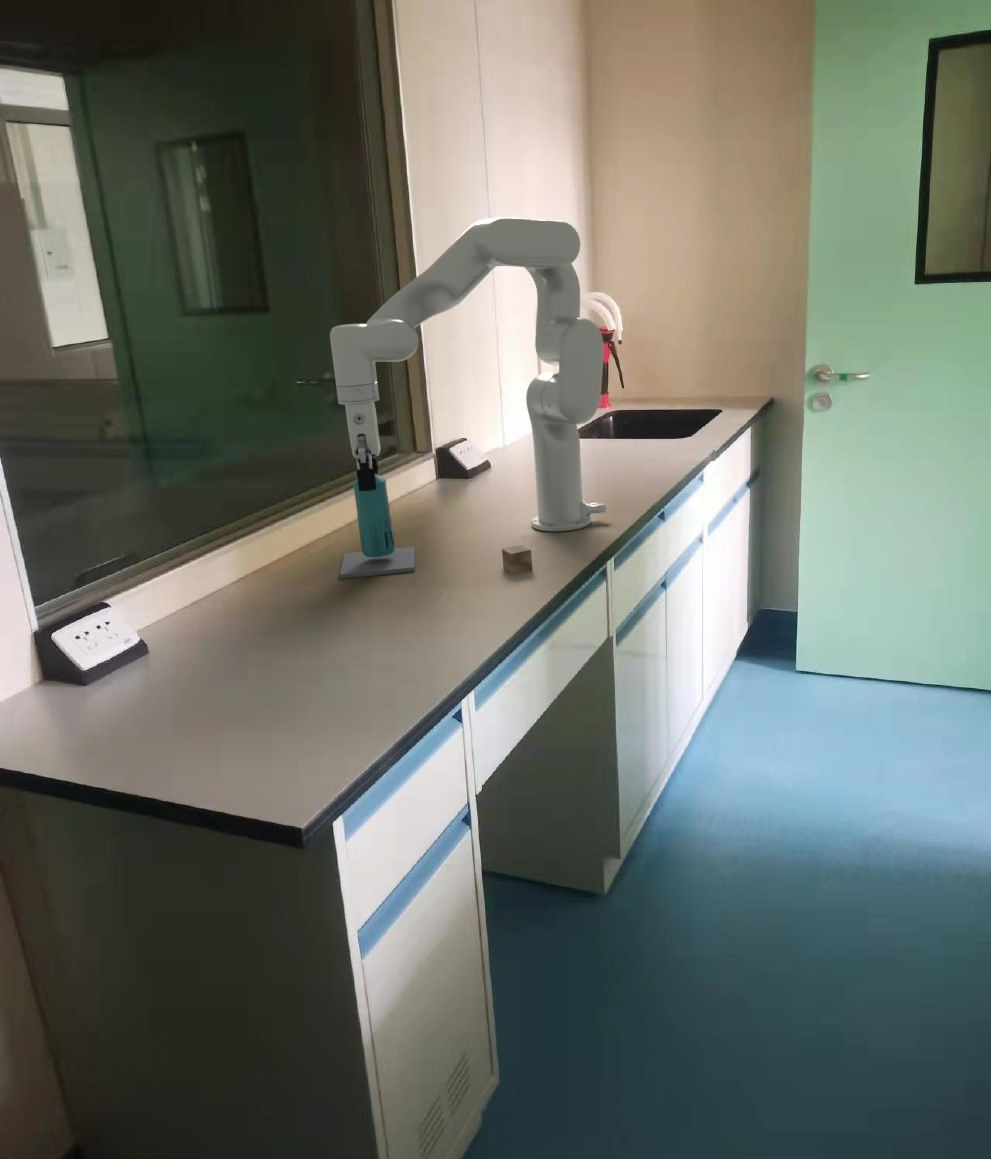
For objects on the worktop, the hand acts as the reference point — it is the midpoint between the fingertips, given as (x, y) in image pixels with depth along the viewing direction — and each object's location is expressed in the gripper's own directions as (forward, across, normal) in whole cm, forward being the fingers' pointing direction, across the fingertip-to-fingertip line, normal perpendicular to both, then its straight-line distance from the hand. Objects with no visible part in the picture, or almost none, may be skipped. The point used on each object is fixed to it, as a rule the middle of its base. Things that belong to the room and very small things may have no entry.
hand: (369, 484), depth 187 cm
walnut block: (+16, -12, -26) cm, 33 cm away
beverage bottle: (+15, 0, 0) cm, 15 cm away
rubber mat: (+16, 0, 0) cm, 16 cm away
